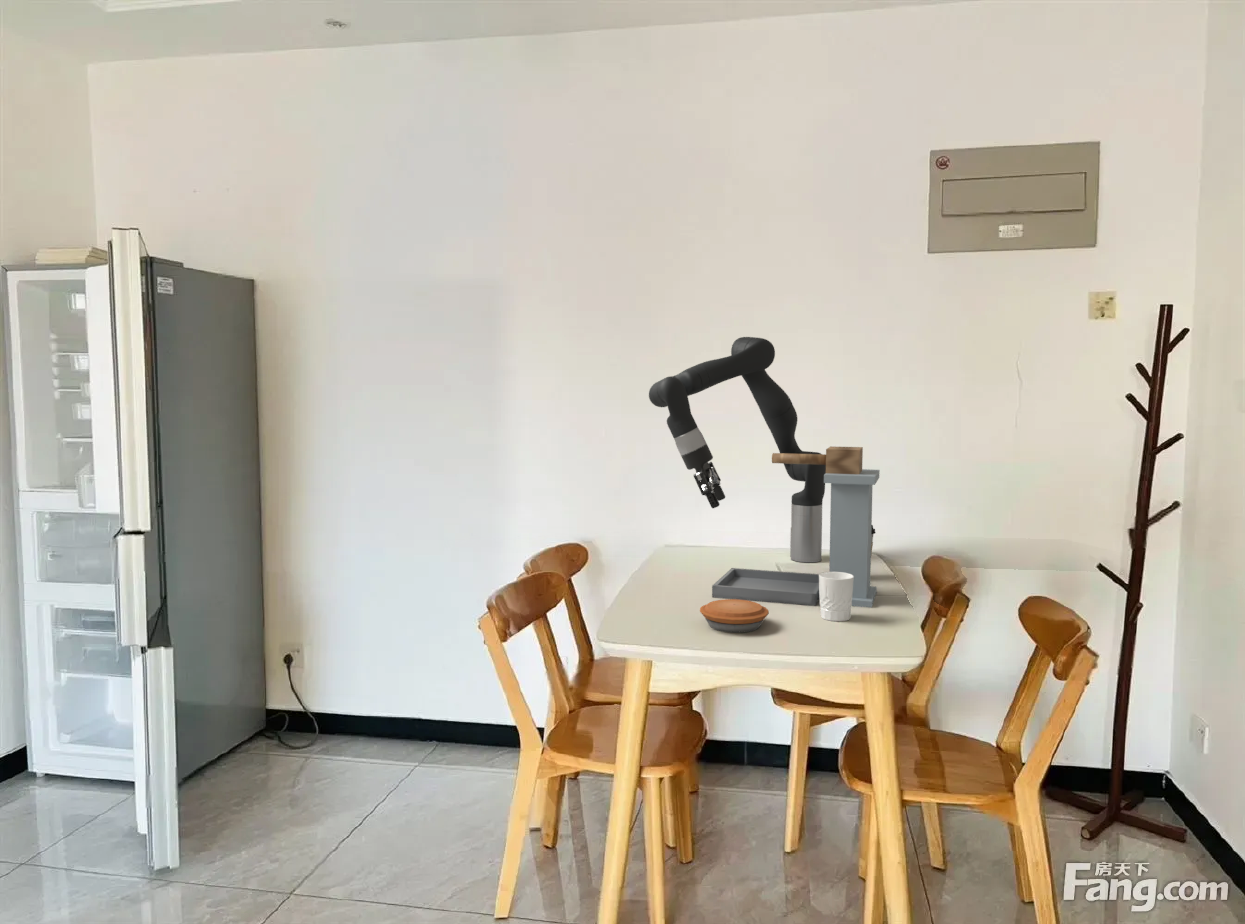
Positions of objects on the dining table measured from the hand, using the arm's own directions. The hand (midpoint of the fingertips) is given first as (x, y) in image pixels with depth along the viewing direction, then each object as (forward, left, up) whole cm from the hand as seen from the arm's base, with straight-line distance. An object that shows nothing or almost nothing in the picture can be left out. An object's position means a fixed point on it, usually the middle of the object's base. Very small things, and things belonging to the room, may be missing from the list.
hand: (719, 503), depth 231 cm
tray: (+9, +11, -22) cm, 27 cm away
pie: (+35, -11, -23) cm, 43 cm away
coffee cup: (+2, +40, -23) cm, 46 cm away
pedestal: (+21, +27, -22) cm, 41 cm away
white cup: (+36, +14, -23) cm, 45 cm away
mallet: (+16, +20, +10) cm, 27 cm away
